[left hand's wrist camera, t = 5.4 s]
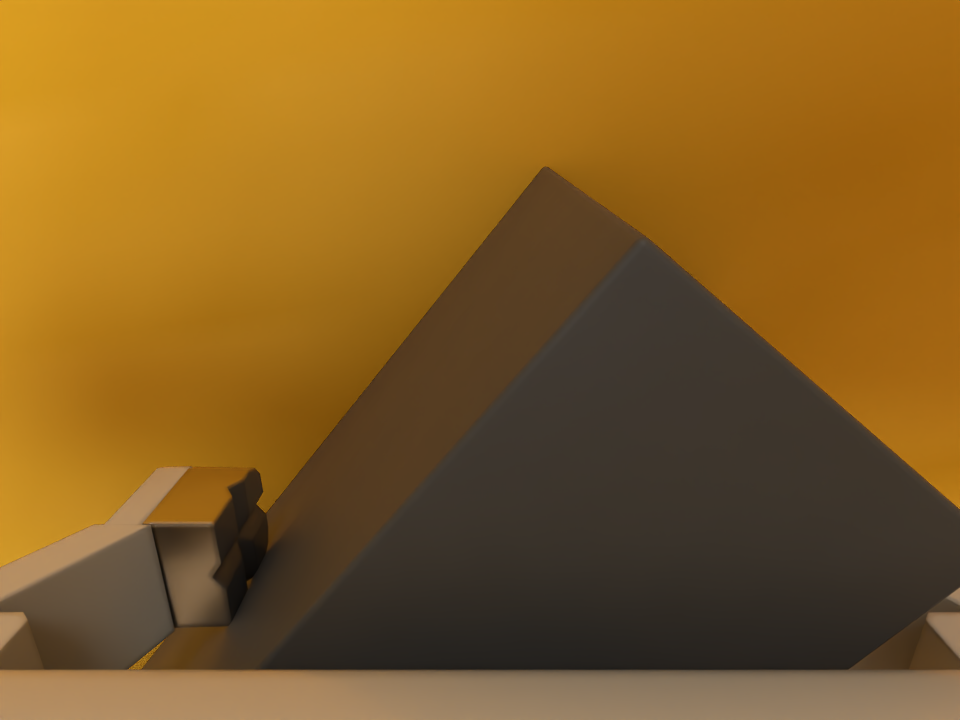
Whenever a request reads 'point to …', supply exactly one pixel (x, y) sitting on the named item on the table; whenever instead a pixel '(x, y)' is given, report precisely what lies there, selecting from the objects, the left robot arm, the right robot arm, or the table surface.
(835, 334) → the table surface
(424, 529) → the bar
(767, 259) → the table surface
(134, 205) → the table surface
